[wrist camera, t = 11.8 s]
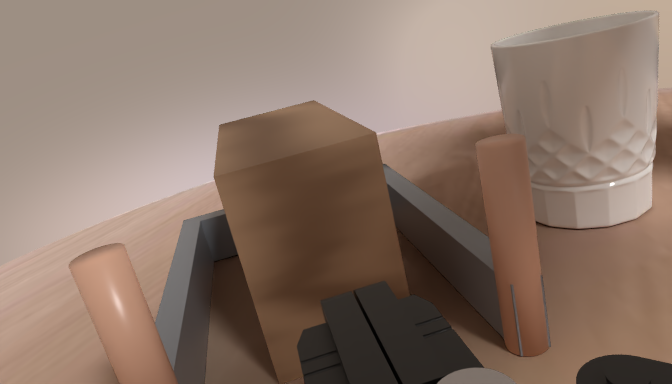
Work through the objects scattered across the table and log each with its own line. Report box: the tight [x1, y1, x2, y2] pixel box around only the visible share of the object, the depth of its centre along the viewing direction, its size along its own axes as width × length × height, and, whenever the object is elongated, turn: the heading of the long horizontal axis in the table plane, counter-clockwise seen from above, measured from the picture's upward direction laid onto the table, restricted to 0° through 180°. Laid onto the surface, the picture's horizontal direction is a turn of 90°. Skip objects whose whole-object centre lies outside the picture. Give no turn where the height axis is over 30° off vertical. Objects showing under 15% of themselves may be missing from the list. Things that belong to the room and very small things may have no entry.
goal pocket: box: [69, 134, 551, 384], centre depth 26 cm, size 15×19×8 cm
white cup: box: [491, 10, 659, 229], centre depth 28 cm, size 8×8×10 cm
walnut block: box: [214, 101, 410, 384], centre depth 26 cm, size 6×14×9 cm, turn 12°
